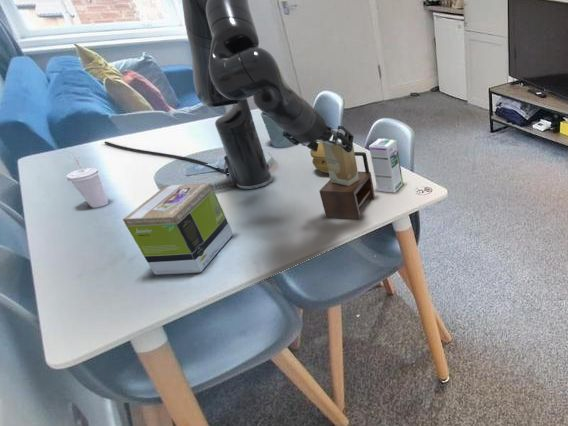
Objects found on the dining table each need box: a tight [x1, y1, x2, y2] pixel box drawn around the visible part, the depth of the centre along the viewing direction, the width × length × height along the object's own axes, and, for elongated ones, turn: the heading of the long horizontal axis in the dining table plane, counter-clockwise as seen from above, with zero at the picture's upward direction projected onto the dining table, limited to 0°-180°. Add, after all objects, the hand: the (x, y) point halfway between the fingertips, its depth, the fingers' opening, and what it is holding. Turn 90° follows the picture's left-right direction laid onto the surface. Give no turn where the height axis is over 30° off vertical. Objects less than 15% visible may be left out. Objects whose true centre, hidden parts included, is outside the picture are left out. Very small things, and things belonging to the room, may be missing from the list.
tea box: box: [122, 182, 234, 276], centre depth 94 cm, size 15×10×15 cm, turn 5°
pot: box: [309, 142, 329, 174], centre depth 135 cm, size 12×12×10 cm
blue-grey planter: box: [260, 111, 295, 149], centre depth 154 cm, size 10×10×12 cm
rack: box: [319, 151, 376, 220], centre depth 113 cm, size 9×12×14 cm
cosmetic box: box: [322, 135, 359, 186], centre depth 109 cm, size 6×4×12 cm
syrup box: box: [368, 138, 404, 194], centre depth 123 cm, size 6×6×14 cm
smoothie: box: [65, 156, 109, 209], centre depth 114 cm, size 6×6×14 cm
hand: (333, 148), depth 105 cm, fingers open, 8 cm apart
